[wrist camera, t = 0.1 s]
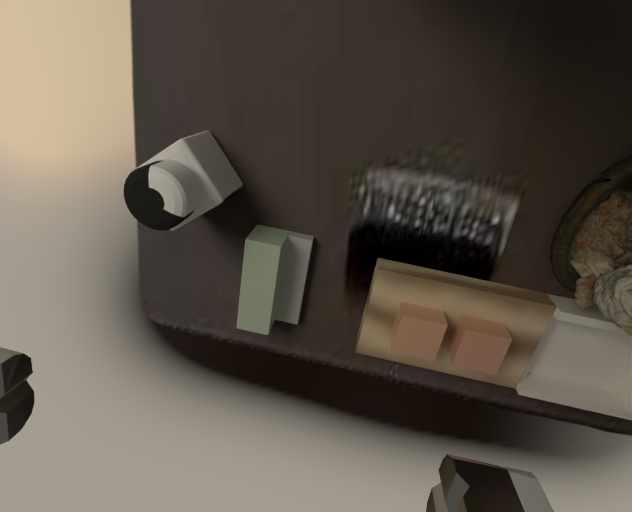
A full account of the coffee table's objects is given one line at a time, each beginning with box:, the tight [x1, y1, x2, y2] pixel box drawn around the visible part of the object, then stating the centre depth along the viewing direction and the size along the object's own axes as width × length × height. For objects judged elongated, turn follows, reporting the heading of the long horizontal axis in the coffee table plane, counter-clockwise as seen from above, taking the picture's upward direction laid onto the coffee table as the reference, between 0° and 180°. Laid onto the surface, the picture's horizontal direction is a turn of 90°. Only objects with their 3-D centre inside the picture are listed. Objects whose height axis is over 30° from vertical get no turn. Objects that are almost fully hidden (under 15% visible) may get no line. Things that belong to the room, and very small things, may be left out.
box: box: [516, 294, 632, 420], centre depth 47 cm, size 12×14×4 cm
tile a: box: [390, 302, 448, 361], centre depth 46 cm, size 5×5×3 cm
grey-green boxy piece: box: [237, 224, 314, 335], centre depth 49 cm, size 12×7×5 cm, turn 171°
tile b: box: [448, 315, 512, 375], centre depth 46 cm, size 5×5×3 cm
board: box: [356, 258, 557, 389], centre depth 49 cm, size 12×20×3 cm, turn 81°
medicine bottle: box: [124, 131, 243, 231], centre depth 41 cm, size 7×7×12 cm
